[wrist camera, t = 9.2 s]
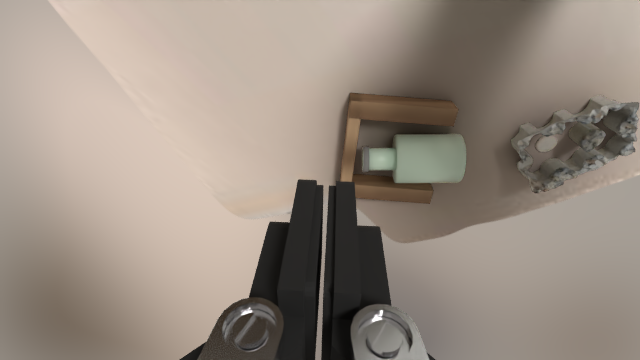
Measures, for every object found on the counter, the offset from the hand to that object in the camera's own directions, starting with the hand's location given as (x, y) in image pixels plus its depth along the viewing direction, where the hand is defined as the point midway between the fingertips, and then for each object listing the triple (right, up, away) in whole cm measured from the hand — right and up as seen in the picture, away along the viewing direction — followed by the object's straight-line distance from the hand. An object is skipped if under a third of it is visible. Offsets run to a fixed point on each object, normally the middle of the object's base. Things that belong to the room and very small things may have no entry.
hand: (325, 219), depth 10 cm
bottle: (+14, +4, +25) cm, 29 cm away
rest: (+8, +5, +28) cm, 29 cm away
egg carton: (+26, +6, +27) cm, 38 cm away
